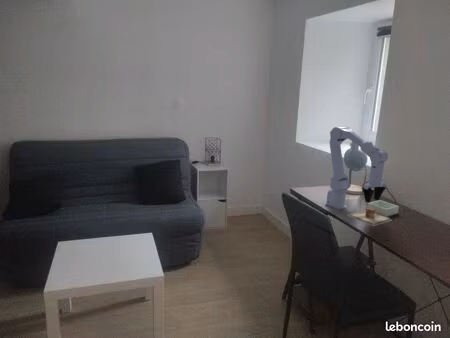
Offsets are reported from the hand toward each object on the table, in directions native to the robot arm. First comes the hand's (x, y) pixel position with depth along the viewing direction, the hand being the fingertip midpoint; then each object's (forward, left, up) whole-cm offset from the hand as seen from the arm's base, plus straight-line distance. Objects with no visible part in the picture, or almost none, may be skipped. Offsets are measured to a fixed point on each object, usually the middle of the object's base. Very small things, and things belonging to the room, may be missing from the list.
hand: (372, 201), depth 173 cm
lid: (0, 0, -9) cm, 9 cm away
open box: (-2, +14, -9) cm, 17 cm away
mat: (0, 0, -9) cm, 9 cm away
